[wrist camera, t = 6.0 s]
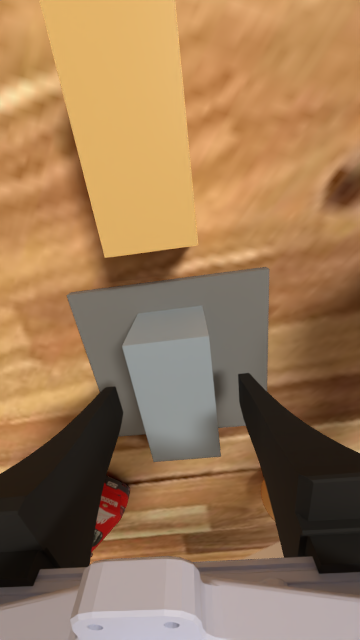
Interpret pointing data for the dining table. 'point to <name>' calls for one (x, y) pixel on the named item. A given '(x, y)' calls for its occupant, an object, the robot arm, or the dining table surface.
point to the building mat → (206, 290)
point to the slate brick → (174, 383)
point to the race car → (110, 508)
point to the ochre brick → (127, 118)
